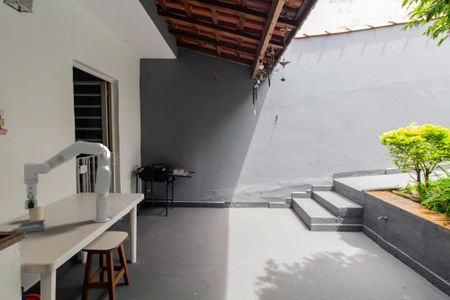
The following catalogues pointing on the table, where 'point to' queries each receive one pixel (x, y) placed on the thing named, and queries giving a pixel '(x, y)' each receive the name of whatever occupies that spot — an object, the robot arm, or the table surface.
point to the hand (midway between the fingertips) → (31, 206)
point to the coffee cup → (37, 213)
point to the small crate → (34, 204)
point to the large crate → (31, 226)
